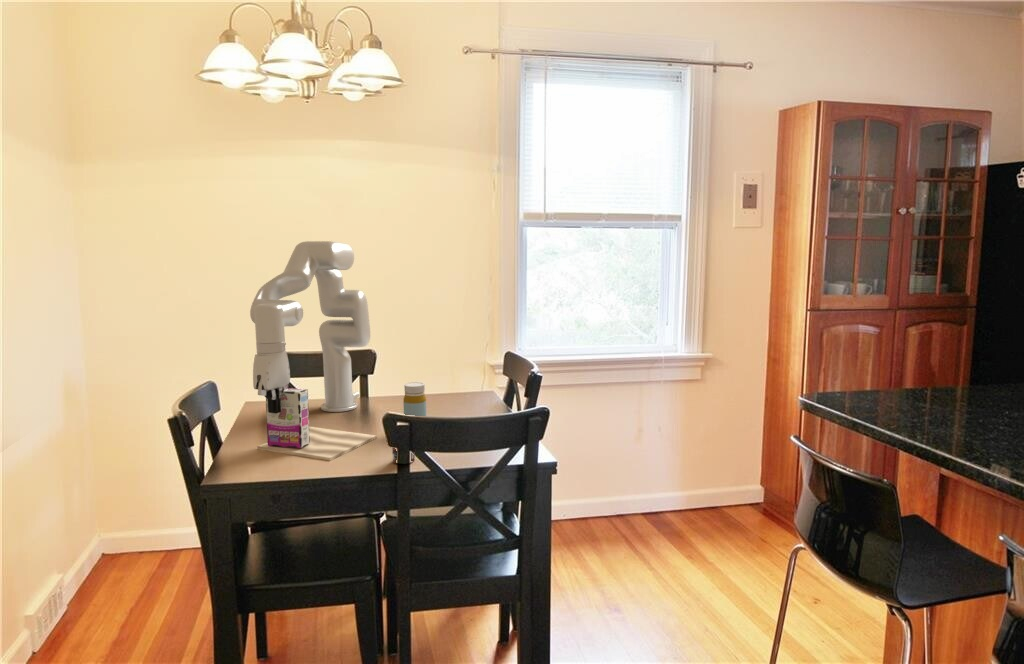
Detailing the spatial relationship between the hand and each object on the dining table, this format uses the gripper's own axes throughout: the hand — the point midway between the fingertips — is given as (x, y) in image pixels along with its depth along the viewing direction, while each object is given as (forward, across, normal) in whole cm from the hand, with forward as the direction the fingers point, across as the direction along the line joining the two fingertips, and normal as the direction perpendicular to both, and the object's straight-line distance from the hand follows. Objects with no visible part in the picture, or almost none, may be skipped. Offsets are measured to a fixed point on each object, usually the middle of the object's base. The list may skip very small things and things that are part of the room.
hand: (274, 412), depth 189 cm
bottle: (+12, -34, +25) cm, 44 cm away
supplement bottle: (+12, -8, +37) cm, 40 cm away
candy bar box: (+11, -5, 0) cm, 12 cm away
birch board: (+12, -12, +5) cm, 18 cm away
